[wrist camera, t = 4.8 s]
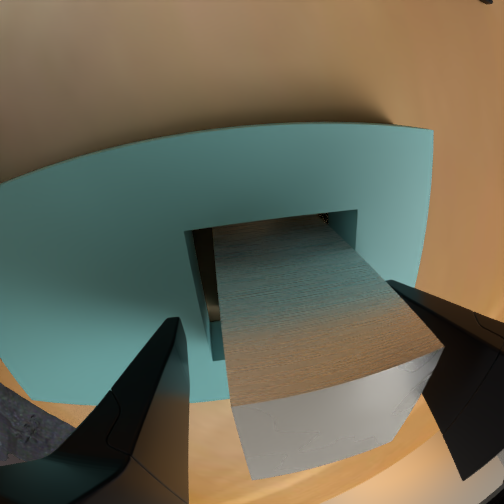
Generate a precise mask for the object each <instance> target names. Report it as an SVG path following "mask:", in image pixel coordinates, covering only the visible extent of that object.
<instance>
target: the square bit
mask: <svg viewBox="0 0 504 504" xmlns="http://www.w3.org/2000/svg"><path fill="white" fill-rule="evenodd" d="M212 228H213V241H214V254H215V265H216V277H217V288H218V298H219V308H220V318H221V328H222V337H223V346H224V354H225V363H226V371H227V379H228V387H229V395H230V402H231V408H232V412H233V416H234V420H235V423H236V427H237V431H238V434H239V438H240V441H241V445H242V448H243V452H244V455H245V459H246V462H247V465H248V469H249V472H250V475H251V478H252V480H257V479H264V478H269V477H275V476H280V475H285V474H290V473H294V472H299V471H303V470H307V469H311V468H315V467H319V466H322V465H326V464H329V463H333V462H336V461H339V460H342V459H345V458H348V457H351V456H354V455H357V454H360V453H363V452H366V451H368V450H371V449H374V448H376V447H379V446H381V445H384V444H386V443H388V442H391V441H392V440H393V438H394V437H395V435H396V434H397V432H398V431H399V429H400V428H401V426H402V425H403V423H404V422H405V420H406V418H407V417H408V415H409V414H410V412H411V410H412V409H413V407H414V405H415V404H416V402H417V400H418V398H419V397H420V395H421V393H422V391H423V389H424V388H425V386H426V384H427V382H428V380H429V378H430V376H431V374H432V372H433V370H434V368H435V366H436V364H437V362H438V360H439V358H440V356H441V354H442V351H443V349H444V347H445V346H444V345H443V344H442V343H441V342H440V341H439V339H438V338H437V337H436V336H435V335H434V334H433V332H432V331H431V330H430V329H429V328H428V327H427V326H426V324H425V323H424V322H423V321H422V320H421V319H420V318H419V317H418V316H417V314H416V313H415V312H414V311H413V310H412V309H411V308H410V307H409V306H408V305H407V304H406V302H405V301H404V300H403V299H402V298H401V297H400V296H399V295H398V294H397V293H396V292H395V291H394V290H393V289H392V288H391V287H390V285H389V284H388V283H387V282H386V281H385V280H384V279H383V278H382V277H381V276H380V275H379V274H378V273H377V272H376V271H375V270H374V269H373V268H372V267H371V266H370V265H369V264H368V263H367V262H366V261H365V260H364V259H363V258H362V257H361V256H360V255H359V254H358V253H357V252H356V251H355V250H354V249H353V248H352V247H351V246H350V245H349V244H348V243H347V242H346V241H345V240H343V239H342V238H341V237H340V236H339V235H338V234H337V233H336V232H335V231H334V230H333V229H332V228H331V227H330V226H329V225H328V224H327V223H325V222H324V221H323V220H322V219H321V218H320V217H319V216H318V215H317V214H309V215H301V216H292V217H284V218H276V219H268V220H260V221H252V222H245V223H237V224H230V225H223V226H216V227H212Z"/></svg>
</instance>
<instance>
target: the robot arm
mask: <svg viewBox="0 0 504 504" xmlns="http://www.w3.org/2000/svg"><path fill="white" fill-rule="evenodd" d="M481 1H482V2H484V3H485V4H492V3H493V1H492V0H481ZM386 282H387V283H388V284H389V285H390V287H391V288H392V289H393V290H394V291H395V292H396V293H397V294H398V295H399V296H400V297H401V298H402V299H403V300H404V301H405V302H406V304H407V305H408V306H409V307H410V308H411V309H412V310H413V311H414V312H415V313H416V314H417V316H418V317H419V318H420V319H421V320H422V321H423V322H424V323H425V324H426V326H427V327H428V328H429V329H430V330H431V331H432V332H433V334H434V335H435V336H436V337H437V338H438V339H439V341H440V342H441V343H442V344H443V345H444V346H445V347H444V349H443V351H442V354H441V356H440V358H439V360H438V362H437V364H436V366H435V368H434V370H433V372H432V374H431V376H430V378H429V380H428V382H427V384H426V386H425V388H424V389H423V391H422V395H423V397H424V398H425V400H426V402H427V404H428V406H429V408H430V410H431V412H432V414H433V416H434V418H435V420H436V423H437V425H438V427H439V429H440V431H441V433H442V434H443V438H444V440H445V442H446V444H447V446H448V449H449V451H450V453H451V455H452V458H453V460H454V462H455V465H456V467H457V469H458V471H459V474H460V476H461V478H462V480H463V481H464V480H466V479H467V478H469V477H470V476H471V475H473V474H474V473H475V472H477V471H478V470H479V469H481V468H482V467H483V466H484V465H486V464H487V463H488V462H489V461H491V460H492V459H493V458H494V457H495V456H498V458H499V459H500V461H501V463H502V464H503V466H504V323H503V322H500V321H497V320H494V319H492V318H489V317H486V316H484V315H481V314H479V313H476V312H473V311H471V310H469V309H466V308H464V307H461V306H459V305H456V304H454V303H451V302H449V301H446V300H444V299H441V298H439V297H436V296H434V295H431V294H428V293H426V292H423V291H421V290H418V289H416V288H413V287H410V286H408V285H405V284H403V283H400V282H397V281H395V280H386ZM189 399H190V376H189V364H188V351H187V339H186V335H185V332H184V328H183V325H182V322H181V319H180V317H170V318H166V319H165V321H164V322H163V323H162V324H161V326H160V327H159V328H158V329H157V331H156V332H155V333H154V334H153V335H152V337H151V338H150V339H149V340H148V342H147V343H146V344H145V345H144V347H143V348H142V349H141V350H140V352H139V353H138V354H137V355H136V357H135V358H134V359H133V361H132V362H131V363H130V364H129V366H128V367H127V368H126V369H125V371H124V372H123V373H122V375H121V376H120V377H119V378H118V380H117V381H116V382H115V383H114V385H113V386H112V387H111V390H109V391H108V392H107V394H106V395H105V396H104V397H103V399H102V400H101V401H100V402H99V404H98V405H97V406H96V407H95V409H94V410H93V411H92V412H91V413H90V414H89V415H88V416H87V417H86V419H85V420H84V421H83V422H82V423H81V424H80V425H79V426H78V427H77V428H76V429H75V430H74V431H73V432H72V433H71V434H70V435H69V437H68V438H67V439H66V440H65V441H64V442H63V443H62V444H61V445H60V446H59V447H58V448H57V449H56V450H55V451H53V452H52V453H51V454H49V455H47V456H45V457H43V458H40V459H36V460H32V461H27V462H22V463H17V464H11V465H5V466H0V504H189V493H188V435H189ZM479 504H504V480H503V484H502V485H501V486H500V487H499V488H498V489H496V490H495V491H494V492H493V493H492V494H491V495H489V496H488V497H487V498H486V499H484V500H483V501H482V502H481V503H479Z"/></svg>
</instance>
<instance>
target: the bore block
mask: <svg viewBox="0 0 504 504" xmlns="http://www.w3.org/2000/svg"><path fill="white" fill-rule="evenodd" d="M432 163H433V130H429V129H423V128H417V127H410V126H402V125H394V124H380V123H361V122H291V123H271V124H257V125H245V126H234V127H225V128H216V129H208V130H201V131H194V132H187V133H181V134H175V135H169V136H163V137H158V138H153V139H147V140H142V141H138V142H133V143H129V144H124V145H120V146H116V147H111V148H107V149H103V150H100V151H96V152H92V153H88V154H85V155H81V156H78V157H74V158H71V159H68V160H64V161H61V162H58V163H55V164H52V165H49V166H46V167H43V168H40V169H37V170H34V171H32V172H29V173H26V174H24V175H21V176H18V177H16V178H13V179H11V180H8V181H6V182H3V183H1V184H0V358H1V360H2V361H3V362H4V364H5V365H6V367H7V368H8V370H9V371H10V372H11V374H12V375H13V376H14V378H15V379H16V380H17V382H18V383H19V384H20V386H21V387H22V388H23V389H24V391H25V392H26V393H27V394H28V396H29V397H30V398H31V399H32V400H37V401H45V402H54V403H65V404H78V405H98V404H99V402H100V401H101V400H102V399H103V397H104V396H105V395H106V394H107V392H108V391H109V390H111V387H112V386H113V385H114V383H115V382H116V381H117V380H118V378H119V377H120V376H121V375H122V373H123V372H124V371H125V369H126V368H127V367H128V366H129V364H130V363H131V362H132V361H133V359H134V358H135V357H136V355H137V354H138V353H139V352H140V350H141V349H142V348H143V347H144V345H145V344H146V343H147V342H148V340H149V339H150V338H151V337H152V335H153V334H154V333H155V332H156V331H157V329H158V328H159V327H160V326H161V324H162V323H163V322H164V321H165V319H166V318H170V317H180V319H181V322H182V325H183V328H184V332H185V335H186V339H187V351H188V364H189V376H190V399H189V403H196V402H206V401H215V400H223V399H230V395H229V387H228V379H227V371H226V363H225V354H224V346H223V337H222V328H221V321H215V322H210V320H209V315H208V311H207V306H206V301H205V296H204V291H203V286H202V281H201V276H200V271H199V266H198V261H197V255H196V250H195V245H194V239H193V233H192V230H195V229H202V228H209V227H216V226H223V225H230V224H237V223H245V222H252V221H260V220H268V219H276V218H284V217H292V216H301V215H309V214H318V213H327V212H328V225H329V226H330V227H331V228H332V229H333V230H334V231H335V232H336V233H337V234H338V235H339V236H340V237H341V238H342V239H343V240H345V241H346V242H347V243H348V244H349V245H350V246H351V247H352V248H353V249H354V250H355V251H356V252H357V253H358V254H359V255H360V256H361V257H362V258H363V259H364V260H365V261H366V262H367V263H368V264H369V265H370V266H371V267H372V268H373V269H374V270H375V271H376V272H377V273H378V274H379V275H380V276H381V277H382V278H383V279H384V280H385V281H386V280H395V281H397V282H400V283H403V284H405V285H408V286H410V287H413V288H414V287H415V283H416V279H417V274H418V269H419V265H420V260H421V254H422V249H423V243H424V237H425V231H426V224H427V217H428V209H429V200H430V190H431V179H432Z"/></svg>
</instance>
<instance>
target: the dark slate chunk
mask: <svg viewBox="0 0 504 504" xmlns="http://www.w3.org/2000/svg"><path fill="white" fill-rule="evenodd" d="M75 429H76V428H74V427H73V426H71V425H70V424H68V423H66V422H64V421H62V420H60V419H58V418H57V417H55V416H53V415H51V414H49V413H47V412H45V411H44V410H42V409H41V408H39V407H37V406H36V405H34V404H32V403H31V402H29V401H28V400H26V399H24V398H23V397H21V396H20V395H18V394H17V393H15V392H14V391H12V390H10V389H9V388H7V387H5V386H4V385H3V384H2V383H0V460H2V461H6V460H7V459H8V456H7V455H8V454H10V453H11V454H13V455H14V456H16V457H17V458H19V459H22V460H24V461H25V462H27V461H32V460H36V459H40V458H43V457H45V456H47V455H49V454H51V453H52V452H53V451H55V450H56V449H57V448H58V447H59V446H60V445H61V444H62V443H63V442H64V441H65V440H66V439H67V438H68V437H69V435H70V434H71V433H72V432H73V431H74V430H75Z"/></svg>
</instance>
